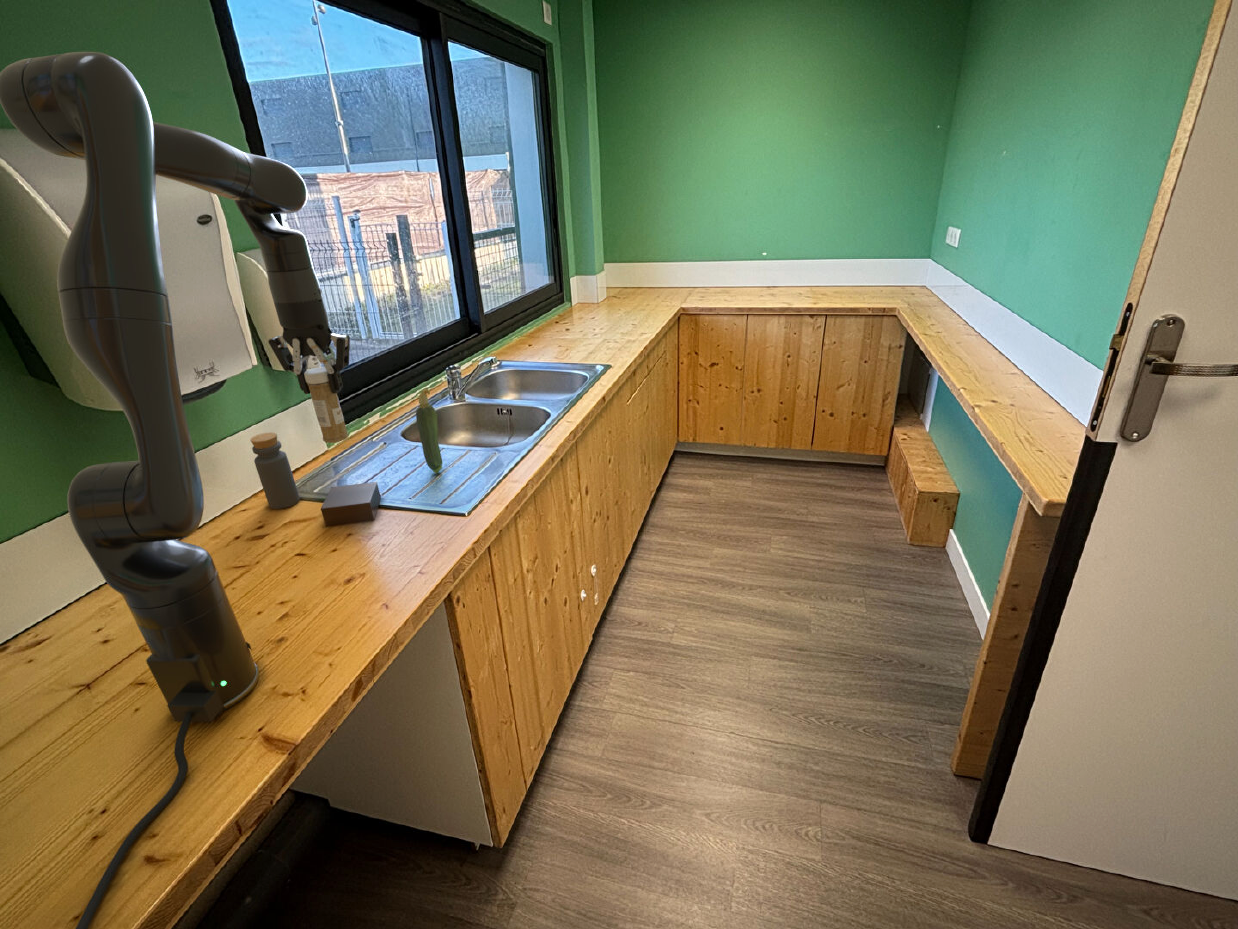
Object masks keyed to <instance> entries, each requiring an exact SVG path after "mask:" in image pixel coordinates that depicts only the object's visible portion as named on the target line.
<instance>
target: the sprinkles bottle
mask: <svg viewBox="0 0 1238 929" xmlns="http://www.w3.org/2000/svg"><path fill="white" fill-rule="evenodd" d="M327 374H329V373H328V372H327V370H326V368H325V367H324V366H319V367H314V368H310V369H307V371H305V373H304V375H305V379H306V382H307V384H308V386H309V390H310V396H311V401H312V405H313V408H314V413H315V416H316V419H317V422H318V425H319V428H320V432H321V434H322V441H323V442H324V443H328V444H335V443H339V442H342V441H344V440H346V439H347V438H348V437H349V432H348V430H347V426H346V423H345V417H344V415H343V411H342V408H341V403H340V400H339V396H338V393H337V394H333V393H332V391H331V387H330V383H329V380H328V376H327Z"/></svg>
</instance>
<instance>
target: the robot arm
mask: <svg viewBox="0 0 1238 929" xmlns="http://www.w3.org/2000/svg"><path fill="white" fill-rule="evenodd" d="M0 105H1V107H2V109H3V111H4V113H5V115H6V116H7V118H8V120H9V121H10V123H11V124H12V126H14V127H15V129H17V131H18V132H19V133H20V134H22V136H23V137H24V138H26V139H27V140H28V141H30V142H31V143H33V144H34V145H35V146H37V147H38V148H40V149H42V150H44V151H46V152H48V153H51V154H52V155H56V156H59V157H64V158H70V159H76V160H83V161H84V162H85V171H86V172H85V173H86V186H85V194H84V198H83V202H82V205H81V207H80V208H81V209H80V210H79V214H78V216H77V219H76V220H75V222H74V225H73V227H72V229H71V231H70V234H69V236H68V238H67V239H66V243H65V245H64V247H63V250H62V253H61V256H60V259H59V263H58V266H57V273H56V285H57V293H58V299H59V307H60V313H61V318H62V325H63V331H64V335H65V338H66V340H67V343H68V345H69V347H70V348H71V350H72V351H73V353H74V354H75V356H76V357H77V358H78V360H79V361H80V362H81V363H82V364H83V366H84V367H85V368H86V370H88V371H89V373H90V374H91V375H92V376H93V377H94V378H95V379H96V380H97V381H98V382H99V383H100V384H101V385H102V387H103V388H104V389H105V390H106V391H107V392H108V394H110V396H111V397H112V398H113V399H114V401H116V403H117V404H118V405H119V407H120V408H121V410H122V412H123V413H124V415H125V417H126V418H127V421H128V424H129V425H130V429H131V432H132V435H133V438H134V442H135V446H136V451H137V457H138V460H130V461H127V460H126V461H116V462H103V463H96V464H93V465H89V466H87V467H85V468H83V469H82V470H80V471H79V472H78V473H77V474H76V475H75V476H74V477H73V478H72V480H71V482H70V485H69V487H68V491H67V510H68V514H69V518H70V521H71V524H72V526H73V528H74V531H75V533H76V534H77V537H78V538H79V540H80V542H81V543H82V545H83V547H84V548H85V549H86V551H87V553H88V555H89V556H90V558H91V559H92V561H93V563H94V564H95V566H96V568H97V569H98V571H99V573H100V575H101V576H102V578H103V580H104V581H105V582H106V583H107V585H108V586H109V587H110V588H111V589H112V590H114V591H115V592H117V593H119V594H120V595H121V596H122V598H123V600H124V602H125V604H126V606H127V608H128V609H129V611H130V613H131V616H132V617H133V620H134V621H135V624H136V625H137V628H138V629H139V631H140V633H141V636H142V638H143V639H144V641H145V644H146V646H147V648H148V650H149V651H150V655H149V656H148V657H146V660H145V662H146V664H147V666H148V668H149V670H150V672H151V674H152V676H153V678H154V680H155V682H156V684H157V686H158V688H159V690H160V692H161V694H162V695H163V698H164V699H165V701H166V703H167V705H166V706H167V708H168V710H169V712H170V714H171V716H172V718H173V720H174V722H176V723H177V722H178V723H179V722H181V724H180V727H179V730H178V731H177V736H176V739H175V742H174V752H173V753H174V759H175V761H176V764H177V768H178V770H177V774H176V776H175V779H174V782H173V784H172V785H171V787H170V788H169V790H167V792H166V793H165V794H164V796H163V797H162V798H161V799H160V800H159V801H158V802H157V803H156V804H155V805H154V806H153V807H152V808H151V809H150V810H149V811H148V812H147V813H146V814H145V815H144V816H143V817H142V818H141V819H140V820H139V821H138V822H137V824H135V826H133V828H132V829H131V831H130V832H129V833H128V834H127V836H126V837H125V839H124V840H123V842H122V843H121V845H120V846H119V847H118V849H117V851H116V852H115V854H114V856H113V857H112V859H111V861H110V863H109V865H108V866H107V867H106V870H105V871H104V873H103V874H102V876H101V878H100V880H99V881H98V884H97V886H96V888H95V890H94V891H93V893H92V896H90V899H89V901H88V903H87V905H86V907H85V909H84V911H83V913H82V915H81V917H80V919H79V921H78V923H77V926H76V927H75V929H88V928H89V927H90V924H91V922H92V920H93V918H94V916H95V914H96V912H97V909H98V908H99V906H100V904H101V901H102V900H103V898H104V896H105V893H106V892H107V889H108V888H109V885H110V884H111V882H112V880H113V878H114V876H115V874H116V873H117V871H118V868H119V867H120V865H121V863H122V862H123V860H124V858H125V857H126V855H127V853H128V852H129V851H130V848H131V847H132V846H133V844H134V842H135V841H136V840H137V838H138V837H139V836H140V834H141V833H142V832H143V831H144V830H145V829H146V827H147V826H148V825H150V823H152V821H153V820H154V819H155V818H156V817H157V816H159V814H160V813H161V812H162V811H163V810H164V809H165V808H166V807H167V806H168V805H169V804H170V802H171V801H172V800H173V799H174V797H175V796H176V795H177V794H178V792H179V791H180V789H181V787H182V785H183V783H184V782H185V780H186V778H187V773H188V771H189V764H188V763H189V762H188V760H187V757H186V755H185V741H186V738H187V734H188V731H189V728H190V725H191V723H212V722H213V721H214V719H215V718H219V717H220V716H221V715H222V714H223V713H224V711H226V710H227V709H229V708H231V707H232V706H234V705H236V704H238V703H239V702H241V701H242V700H243V699H244V698H246V697H247V696H248V695H249V694H250V693H251V692H252V690H253V689H254V688H255V687H256V685H257V683H258V682H259V679H260V670H259V668H258V666H257V664H256V662H255V661H254V657H253V656H252V654H251V651H253V649H252V647H251V644H250V643H249V642H248V641H246V638H245V636H244V634H243V632H242V628H241V626H240V624H239V621H238V619H237V616H236V614H235V612H234V609H233V607H232V604H231V603H230V599H229V597H228V595H227V592H226V590H225V587H224V584H223V582H222V579H221V576H220V574H219V573H218V572H219V571H218V570H217V567H216V564H215V562H214V560H213V558H212V556H211V554H210V552H208V551H207V550H206V549H205V548H204V547H202V546H199V545H196V544H193V543H190V542H186V541H185V542H184V541H181V540H182V539H186V538H188V537H190V536H191V535H193V534H194V533H195V532H196V531H197V530H198V528H199V527H200V525H201V523H202V520H203V516H204V510H205V509H204V508H205V507H204V506H205V504H204V502H205V500H204V499H205V498H204V497H205V495H204V488H203V483H202V477H201V473H200V468H199V463H198V461H197V456H196V452H195V449H194V444H193V440H192V437H191V436H192V435H191V433H190V428H189V425H188V420H187V416H186V412H185V406H184V403H183V402H184V401H183V397H182V396H183V395H182V391H181V385H180V379H179V372H178V364H177V357H176V349H175V340H174V339H175V338H174V329H173V328H174V327H173V321H172V320H173V319H172V313H171V307H170V300H169V299H170V298H169V293H168V289H167V283H166V278H165V272H164V265H163V257H162V248H161V240H160V239H161V238H160V231H159V229H160V228H159V219H158V209H157V207H158V206H157V178H156V177H157V176H159V177H162V178H166V179H169V180H172V181H175V182H178V183H182V184H185V185H188V186H191V187H193V188H197V189H200V190H202V191H205V192H207V193H211V194H213V195H215V196H219V197H222V198H224V199H228V200H232V201H234V204H235V205H236V207H237V209H238V211H239V212H240V214H241V216H242V218H243V219H244V221H245V222H246V224H247V226H248V228H249V230H250V231H251V233H252V235H253V237H254V239H255V240H256V242H257V244H258V246H259V249H260V253H261V256H262V259H263V263H264V267H265V270H266V274H267V282H268V287H269V291H270V294H271V297H272V301H273V304H274V308H275V311H276V315H277V319H278V321H279V325H280V327H282V335H276V336H273V337H272V338H269V339H268V341H267V342H268V345H269V346H270V348H271V350H272V351H273V353H274V355H275V357H276V359H277V360H278V362H279V364H280V365H281V367H282V369H283V370H284V371H285V372H292V373H294V374H295V375H296V378H297V381H298V385H299V388H300V391H302V392H303V393H304V395H311V393H310V390H309V386H308V384H307V382H306V379H305V375H304V373H305V371H307V370H308V367H309V366H308V365H309V360H310V356H311V357H316V359H317V360H318V362H319V363H321V364H322V365H323V367H325V368H326V370H327V372H328V373H329V374H327V376H328V380H329V383H330V387H331V391H332V393H333V394H337V395H338V393H340V392H341V391H342V389H343V387H344V384H343V379H342V375H341V371H343V370H344V369H345V368H347V367H349V366H350V349H351V348H350V347H351V346H350V344H351V337H350V336H349V335H348V334H346V333H345V334H343V335H342V334H337V333H334V332H333V330H332V329H331V328H330V325H329V317H328V313H327V309H326V306H325V302H324V298H323V291H322V289H321V285H320V281H319V278H318V276H317V273H316V271H315V267H314V264H313V260H312V255H311V252H310V248H309V245H308V241H307V240H308V239H307V238H306V236H305V234H304V233H302V232H301V231H299V230H296V229H291V228H288V227H284V226H282V225H281V224H280V223H279V222H278V220H277V219H276V218H275V216H274V215H280V214H281V215H282V214H294V213H297V212H300V211H301V210H302V209H303V208H305V206H306V204H307V202H308V189H307V185H306V182H305V180H304V179H303V177H302V176H301V174H299V172H297V170H296V169H295V168H293V167H292V166H291V165H289V164H286V163H284V162H283V161H279V160H276V159H273V158H269V157H266V156H262V155H257V154H253V153H248V152H244V151H242V150H240V149H238V148H236V147H234V146H232V145H230V144H228V143H226V142H224V141H223V140H220V139H217V138H215V137H213V136H211V135H209V134H206V133H203V132H199V131H196V130H192V129H189V128H184V127H179V126H174V125H170V124H165V123H161V122H156V121H153V117H152V112H151V108H150V105H149V103H148V100H147V97H146V95H145V92H144V90H143V87H141V84H140V83H139V81H138V80H137V79H136V77H135V75H134V74H133V73H132V72H131V71H130V69H128V68H127V66H126V65H125V64H123V63H122V62H121V61H120V60H119V59H117V58H115V57H113V56H111V55H108V54H106V53H103V52H97V51H74V52H66V53H60V54H52V55H44V56H36V57H28V58H23V59H20V60H17V61H15V62H13V63H11V64H8V65H7V66H5V68H3V69H2V70H1V71H0ZM332 343H333V346H334V347H335V352H334V350H333V349H332V348H333V347H331V344H332ZM288 346H290V348H292V352H291V350H290V349H289V347H288Z"/></svg>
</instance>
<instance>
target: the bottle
mask: <svg viewBox="0 0 1238 929" xmlns="http://www.w3.org/2000/svg"><path fill="white" fill-rule="evenodd" d="M250 442H251V444H252V445H253V446H252V448H251V450H252V452H253V454H255V455H257V456H256V457H255V458H254V460H253V462H254V466H255V470H256V471H257V474H258V478H259V480H260V483H261V487H262V489H263V492H264V496H265V498H266V501H267V504H268V506H269V508H270V509H274V510H279V509H280V510H281V509H286V508H290V507H293V506H294V505H296V504H298V503H299V501H300V499H301V498H300V494H299V491H298V486H297V484H296V481H295V477H294V474H293V471H292V467H291V465H290V462H289V458H288V455H287V453H286V452H285V451H283V450H280V449H281V448H282V442H281V441H280V440H278V434H277V433H276V432H262V433H259V434H256V435H254V436H252V437H251V438H250Z"/></svg>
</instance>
